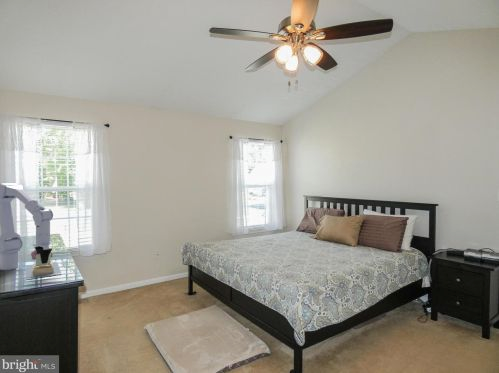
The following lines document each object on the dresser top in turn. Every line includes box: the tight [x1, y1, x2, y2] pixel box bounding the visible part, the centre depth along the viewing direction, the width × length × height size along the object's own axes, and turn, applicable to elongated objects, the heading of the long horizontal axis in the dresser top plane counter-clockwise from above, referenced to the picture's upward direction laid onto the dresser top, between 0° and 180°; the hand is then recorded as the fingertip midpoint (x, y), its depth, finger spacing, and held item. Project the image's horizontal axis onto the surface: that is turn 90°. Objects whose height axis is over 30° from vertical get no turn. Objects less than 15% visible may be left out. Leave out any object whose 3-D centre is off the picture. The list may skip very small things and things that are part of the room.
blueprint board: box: [24, 261, 62, 281], centre depth 150 cm, size 24×14×4 cm, turn 37°
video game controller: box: [30, 249, 53, 260], centre depth 174 cm, size 10×5×7 cm, turn 141°
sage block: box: [35, 252, 52, 266], centre depth 146 cm, size 4×4×5 cm
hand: (43, 261), depth 146 cm, fingers closed on sage block, 6 cm apart
